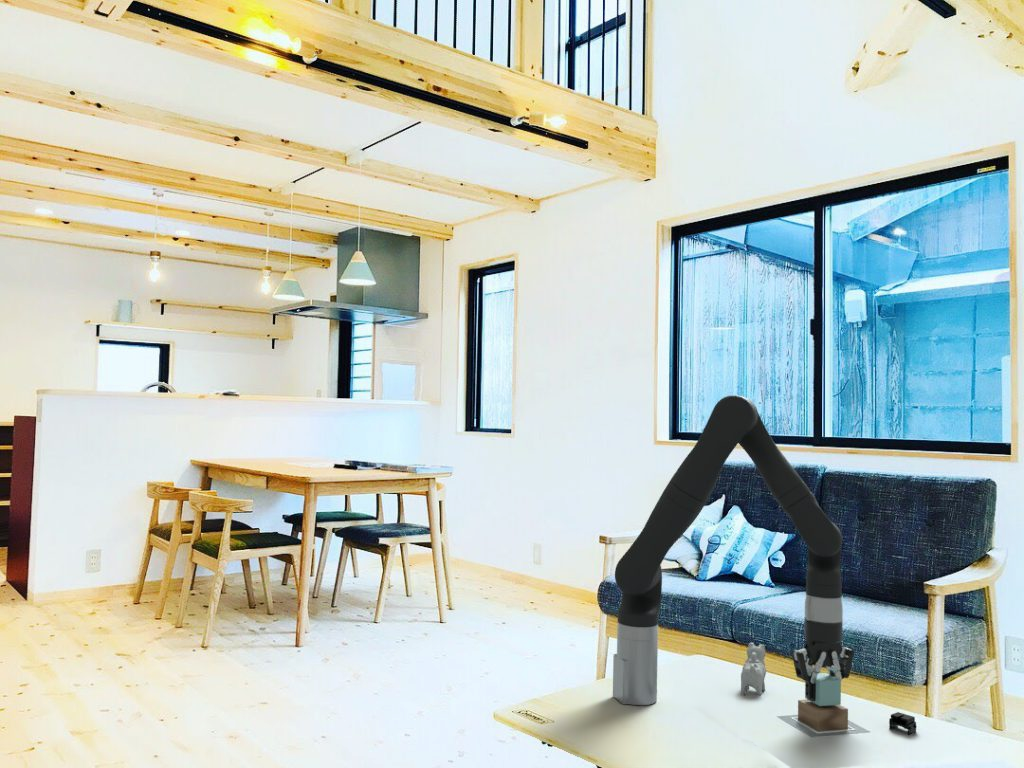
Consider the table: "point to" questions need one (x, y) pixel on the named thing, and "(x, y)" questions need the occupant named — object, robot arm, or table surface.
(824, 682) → the teal cube
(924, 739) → the table surface
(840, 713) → the walnut block
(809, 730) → the board
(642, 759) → the table surface
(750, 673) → the dog figurine
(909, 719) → the black stepped block
